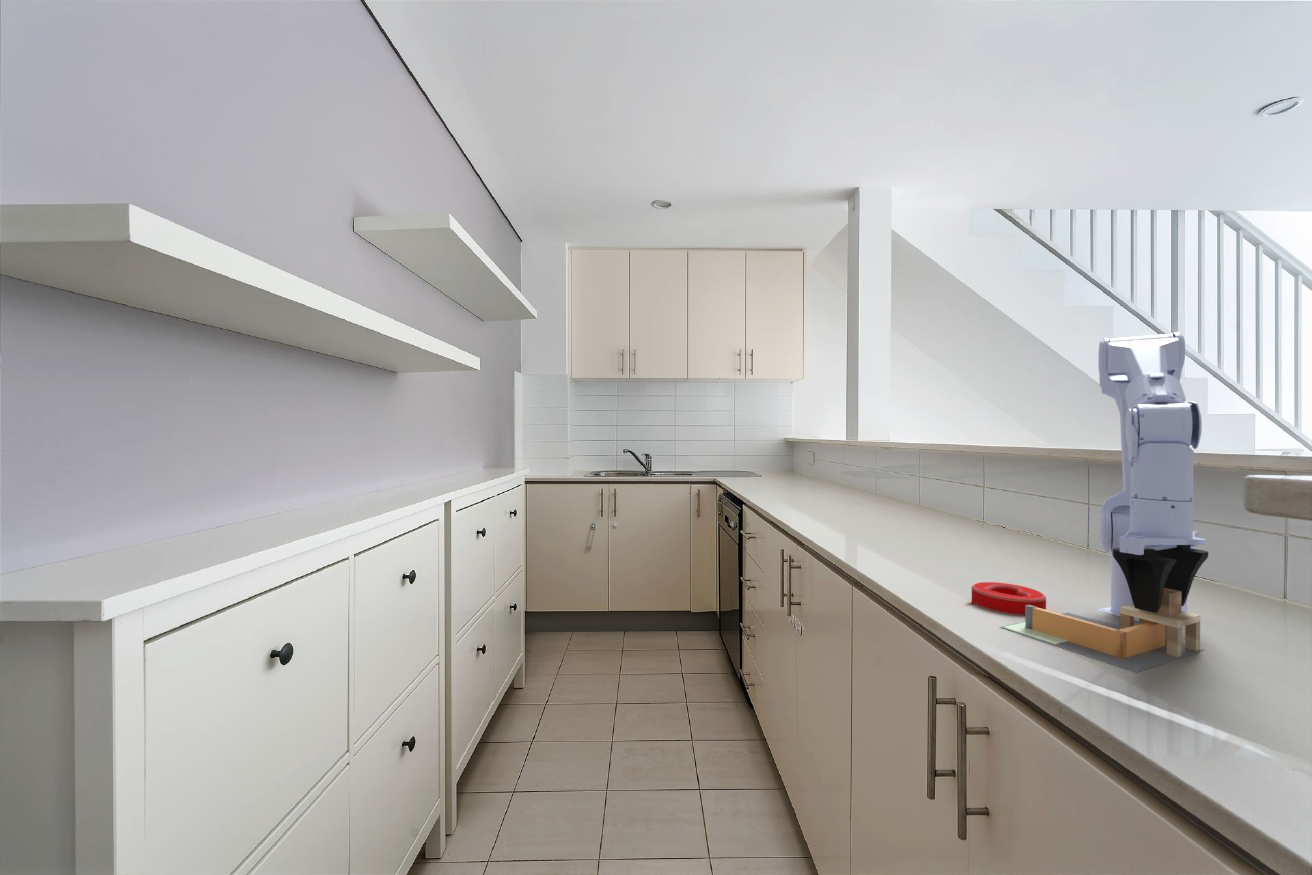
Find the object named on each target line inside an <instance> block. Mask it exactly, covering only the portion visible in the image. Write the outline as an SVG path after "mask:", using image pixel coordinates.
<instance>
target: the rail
mask: <svg viewBox="0 0 1312 875" xmlns="http://www.w3.org/2000/svg"><path fill="white" fill-rule="evenodd" d="M1024 616H1025V619H1024V620H1025V621H1024V622H1025V627H1026V628H1028V629H1033V630H1036V631H1039V632H1042V633H1046V634H1049V635H1052V636H1055V637H1058V638H1061V639H1065V640H1068V641H1069V642H1072V643H1075V644H1078V645H1081V646H1084V647H1088V648H1091V649H1094V650H1097V651H1100V652H1103V653H1107V654H1110V655H1113V656H1116V657H1119V658H1122V659H1123V658H1127V657H1130V656H1133V655H1136V654H1140V653H1143V652H1146V651H1150V650H1153V649H1156V648H1159V647H1163V646H1167V625H1164V624H1161V623H1157V622H1153V621H1151V622H1147V623H1143V624H1139V623H1138V624H1136V625H1135V624H1134V626H1132V627H1128V628H1124V629H1120V630H1117V629H1114V628H1110V627H1106V626H1103V625H1099V624H1095V623H1092V622H1088V621H1085V620H1081V619H1077V618H1074V617H1070V616H1067V615H1063V613H1059V612H1055V611H1052V610H1049V609H1046V610H1045V609H1041V608H1038V607H1035V606H1032V605H1026V609H1025V615H1024Z"/></svg>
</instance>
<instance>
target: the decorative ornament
mask: <svg viewBox="0 0 1312 875" xmlns="http://www.w3.org/2000/svg"><path fill="white" fill-rule="evenodd" d="M971 605H972V606H973V605H974V606H976V605H977V606H979V607H982V608H984V609H985V608H986V609H988V610H991V611H995V612H1001V613H1004V614H1011V615H1012V614H1013V615H1019V616H1020V615H1023V616H1025V609H1026V605H1032V606H1035V607H1038V608H1041V609H1045V610H1047V597H1046V596H1045V594H1044V593H1042V592H1040V591H1038V590H1037V589H1033V588H1030V587H1028V586H1027V587H1026V586H1023V585H1017V584H1013V583H1007V582H1006V583H1005V582H994V581H992V582H991V581H984V582H983V581H982V582H976V583H974V584H973V585H972V586H971Z"/></svg>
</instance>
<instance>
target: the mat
mask: <svg viewBox="0 0 1312 875" xmlns="http://www.w3.org/2000/svg"><path fill="white" fill-rule="evenodd" d="M1062 614H1063V615H1067V616H1070V617H1074V618H1077V619H1081V620H1085V621H1088V622H1092V623H1095V624H1099V625H1103V626H1106V627H1110V628H1114V629H1117V630H1120V625H1115V624H1112V623H1108V622H1104V621H1101V620H1096V619H1093V618H1091V617H1090V618H1089V617H1086V616H1082V615H1079V614H1075V613H1071V612H1067V611H1066V612H1064V613H1062ZM1023 622H1024V621H1022V622H1018V623H1016V624H1019V623H1023ZM1014 624H1015V623H1014ZM1014 624H1008V625H1004V626H999V629H1002V630H1005V631H1008V632H1012V633H1015V634H1018V635H1021V636H1024V637H1027V638H1030V639H1033V640H1035V641H1039V642H1041V643H1046V644H1049V645H1050V646H1054V647H1057V648H1061V649H1063V650H1067V651H1070V652H1072V653H1075V654H1079V655H1081V656H1085V657H1088V658H1090V659H1094V660H1097V661H1100V662H1102V663H1106V664H1108V665H1109V664H1110V665H1113V666H1115V667H1118V668H1122V669H1125V670H1127V671H1130V672H1133V673H1141V672H1143V671H1145V670H1149V669H1151V668H1155V667H1158V666H1162V665H1165V664H1167V663H1172V662H1173V661H1176V660H1180V659H1183V658H1186V657H1188V656H1191V655H1194V654H1198V653H1200V652H1203V651H1205V648H1204V649H1203V648H1200V650H1198V651H1193V650H1190V649H1186V648H1185V643H1182V656H1180V657H1175V656H1171V655H1168V654H1167V646H1163V647H1159V648H1156V649H1153V650H1150V651H1146V652H1143V653H1140V654H1136V655H1133V656H1130V657H1127V658H1123V659H1122V658H1119V657H1116V656H1113V655H1110V654H1107V653H1103V652H1100V651H1097V650H1094V649H1091V648H1088V647H1084V646H1081V645H1078V644H1075V643H1072V642H1069V641H1068V642H1064V643H1060V644H1056V645H1054V644H1051V643H1048V642H1045V641H1042V640H1039V639H1036V638H1033V637H1030V636H1027V635H1024V634H1021V633H1018V632H1015V631H1012V630H1009V629H1006V628H1003V627H1005V626H1010V625H1014Z"/></svg>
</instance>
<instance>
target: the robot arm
mask: <svg viewBox="0 0 1312 875" xmlns="http://www.w3.org/2000/svg"><path fill="white" fill-rule="evenodd" d="M1185 359H1186V340H1185V337H1184V336H1183V335H1182V334H1181V333H1180V332H1177V331H1175V332H1172V333H1169V334H1168V333H1167V334H1164V333H1163V334H1154V335H1141V336H1127V337H1117V338H1116V337H1115V338H1109V337H1103V339H1101V341H1099V345H1098V361H1097V362H1098V376H1099V378H1098V379H1099V387H1100V388H1101V393H1102V394H1103V395H1105V396H1108V397H1111V398H1112V399H1114V400H1115V403H1116V406H1117V409H1118V411H1119V418H1120V419H1119V421H1120V424H1119V425H1120V442H1121V444H1120V445H1121V447H1120V448H1121V468H1122V472H1121V473H1122V491H1120V492H1118V493H1116V494H1114V495H1112V496H1110V497H1109V498H1106V499H1105V500H1103V503H1101V508H1100V517H1099V544H1100V548H1101V549H1102V550H1103V551H1104V552H1107V553H1109V554H1110V555H1111V557H1110V558H1111V559H1110V562H1111V563H1110V568H1111V569H1110V572H1111V573H1110V606H1109V607H1104V608H1103V607H1102V608H1099V609H1097V611H1098V612H1102V613H1105V614H1109V615H1114V616H1117V617H1120V607H1123V606H1127V605H1132V604H1134V607H1135V608H1137V609H1141V610H1145V611H1149V612H1153V613H1157V612H1158V611H1159V609H1160V606H1161V602H1162V597H1163V590H1164V588H1167V589H1172V590H1177V591H1181V611H1185V612H1188V597H1189V594H1190V590H1191V588H1192V584H1193V582H1194V579H1195V577H1196V575H1197V573H1198V571H1199V569H1200V568H1201V566H1202V565H1203V564H1204V562H1205V561H1206V560H1207V559H1208V558H1209V551H1208V550H1204V549H1203V550H1202V549H1198V548H1194V547H1198V546H1206V545H1207V539H1206V538H1204V537H1203V538H1202V537H1199V531H1196V530H1194V528H1193V527H1194V469H1195V468H1194V467H1195V466H1194V461H1195V459H1194V458H1195V454H1194V452H1195V450H1197V448H1198V447H1199V443H1200V440H1201V437H1202V430H1203V428H1202V427H1203V424H1202V422H1203V420H1202V414H1201V410H1200V407H1199V404H1198V402H1197V401H1193V400H1187V398H1186V395H1185V391H1184V389H1183V386H1182V384H1181V377H1182V371H1183V368H1184V365H1185ZM1191 446H1192V448H1191ZM1134 621H1137V622H1139V618H1137V617H1134Z"/></svg>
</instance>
